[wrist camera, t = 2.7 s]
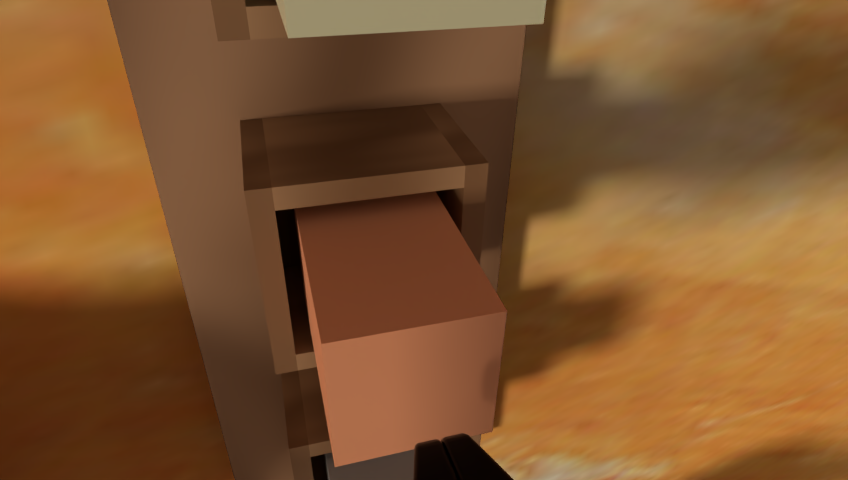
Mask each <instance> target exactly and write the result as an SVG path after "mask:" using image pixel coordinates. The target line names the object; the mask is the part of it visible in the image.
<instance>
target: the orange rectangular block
mask: <svg viewBox="0 0 848 480" xmlns="http://www.w3.org/2000/svg"><path fill="white" fill-rule="evenodd" d="M294 213H295V222H296V230H297V238H298V246H299V254H300V262H301V270H302V279H303V287H304V295H305V302H306V308H307V313H308V319H309V325H310V330H311V336H312V342H313V347H314V353H315V359H316V364H317V370H318V376H319V381H320V387H321V392H322V398H323V404H324V409H325V415H326V421H327V426H328V432H329V438H330V443H331V449H332V455H333V460H334V466H335V467H338V466H343V465H347V464H351V463H356V462H360V461H365V460H369V459H373V458H378V457H382V456H387V455H391V454H395V453H400V452H404V451H409V450H413V449H414V448H415V445H416V444H417V443H420V442H425V441H429V440H433V439H438V440H440V441H441V439H442V438H444V437H447V436H451V435H456V434H460V433H465V434H467V435H469V436H475V435H479V434H484V433H488V432H492V430H493V422H494V414H495V406H496V398H497V390H498V382H499V374H500V366H501V358H502V350H503V342H504V334H505V326H506V318H507V310H506V308H505V306H504V305H503V303H502V301H501V300H500V298H499V296H498V295H497V293H496V291H495V290H494V288H493V286H492V285H491V283H490V281H489V280H488V278H487V276H486V275H485V273H484V271H483V270H482V268H481V266H480V265H479V263H478V261H477V260H476V258H475V256H474V255H473V253H472V251H471V250H470V248H469V246H468V245H467V243H466V241H465V240H464V238H463V236H462V235H461V233H460V231H459V230H458V228H457V226H456V225H455V223H454V221H453V220H452V218H451V216H450V215H449V213H448V211H447V210H446V208H445V206H444V205H443V203H442V201H441V200H440V198H439V196H438V195H437V193H436V191H432V192H424V193H416V194H408V195H400V196H392V197H384V198H375V199H367V200H359V201H351V202H343V203H335V204H327V205H318V206H310V207H302V208H294Z"/></svg>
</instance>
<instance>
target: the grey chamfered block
mask: <svg viewBox="0 0 848 480" xmlns="http://www.w3.org/2000/svg"><path fill="white" fill-rule="evenodd" d="M324 458H325V466H326V474H327V480H413V473H414V449H413V450H409V451H404V452H400V453H395V454H391V455H387V456H382V457H378V458H373V459H369V460H365V461H360V462H356V463H351V464H347V465H343V466H338V467H335V466H334V460H333V455H332V452H331V453H327V454H324Z"/></svg>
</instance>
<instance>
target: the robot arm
mask: <svg viewBox="0 0 848 480" xmlns="http://www.w3.org/2000/svg"><path fill="white" fill-rule="evenodd" d="M413 480H513V479H512V478H511V477H510V476H509V475H508V474H507V473H506V472H505V471H504V470H503V469H502V468H501V467H500V466H499V465H498V464H497V463H496V462H495V461H494V460H493V459H492V458H491V457H490V456H489V455H488V454H487V453H486V452H485V451H484V450H483V449H482V448H481V447H480V446H479V445H478V444H477V443H476V442H475V441H474V440H473V439H472V438H471V437H470V436H469V435H467V434H465V433H460V434H456V435H451V436H447V437H444V438H442V439H441V441H440V440H438V439H433V440H429V441H425V442H420V443H417V444H416V445H415V448H414V473H413Z"/></svg>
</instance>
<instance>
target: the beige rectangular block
mask: <svg viewBox="0 0 848 480" xmlns="http://www.w3.org/2000/svg"><path fill="white" fill-rule="evenodd" d="M276 2H277V5H278V8H279V12H280V15H281V18H282V21H283V24H284V27H285V30H286V33H287V36H288V38H302V37H320V36H337V35H355V34H373V33H390V32H408V31H426V30H443V29H461V28H478V27H496V26H514V25H531V24H543V23H544V15H545V7H546V0H276Z"/></svg>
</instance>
